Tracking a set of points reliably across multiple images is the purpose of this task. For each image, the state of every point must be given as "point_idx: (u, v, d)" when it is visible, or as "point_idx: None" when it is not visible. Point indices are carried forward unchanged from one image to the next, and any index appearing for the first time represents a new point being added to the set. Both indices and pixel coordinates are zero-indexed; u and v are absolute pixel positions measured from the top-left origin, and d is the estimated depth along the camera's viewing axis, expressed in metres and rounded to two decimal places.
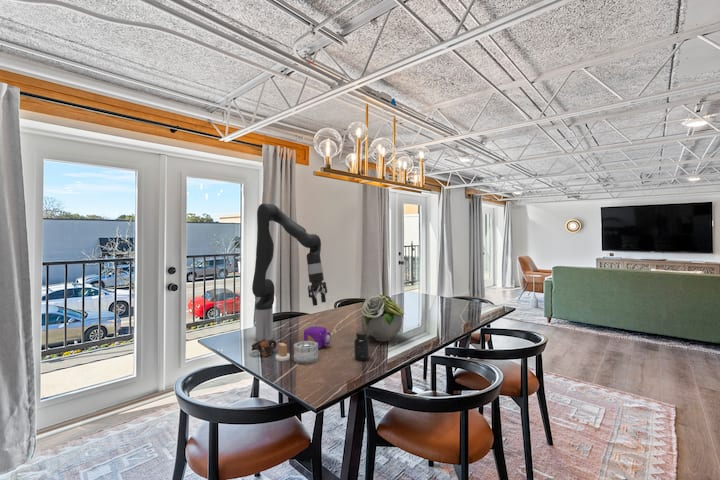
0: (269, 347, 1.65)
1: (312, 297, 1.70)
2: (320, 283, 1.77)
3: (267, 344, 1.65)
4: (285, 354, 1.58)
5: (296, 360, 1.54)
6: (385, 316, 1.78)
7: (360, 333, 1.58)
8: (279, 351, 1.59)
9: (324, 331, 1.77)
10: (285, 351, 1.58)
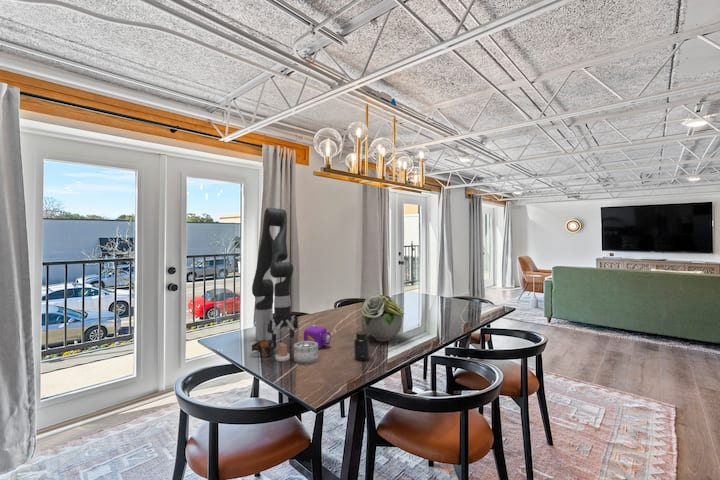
0: (269, 347, 1.64)
1: (270, 333, 1.55)
2: (287, 317, 1.60)
3: (267, 344, 1.64)
4: (285, 354, 1.58)
5: (296, 360, 1.54)
6: (385, 316, 1.78)
7: (360, 333, 1.58)
8: (279, 351, 1.59)
9: (324, 331, 1.77)
10: (285, 351, 1.58)
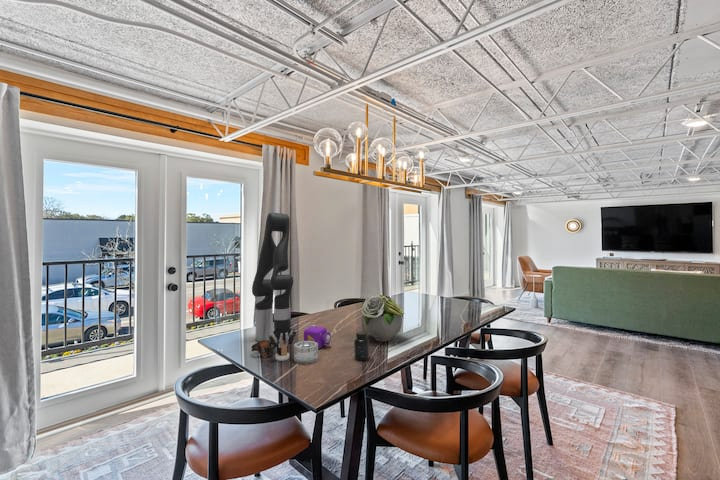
0: (269, 348, 1.64)
1: (275, 346, 1.57)
2: (286, 330, 1.60)
3: (267, 345, 1.64)
4: (285, 353, 1.58)
5: (296, 360, 1.54)
6: (385, 316, 1.78)
7: (360, 333, 1.58)
8: None
9: (324, 331, 1.77)
10: (285, 350, 1.58)
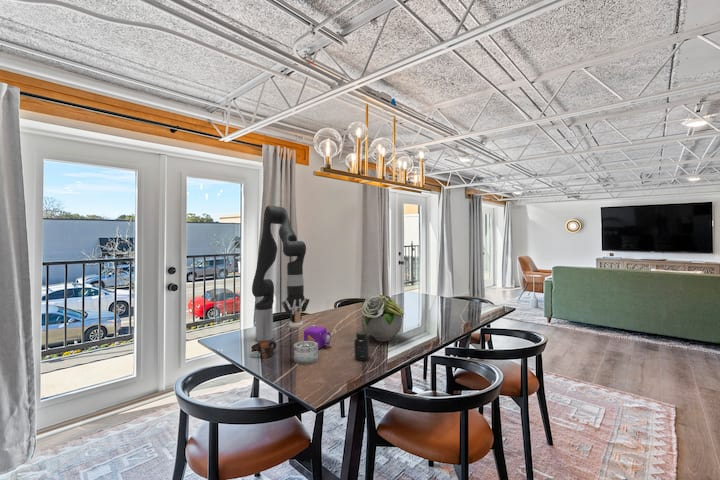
0: (269, 348, 1.63)
1: (289, 313, 1.56)
2: (299, 297, 1.58)
3: (267, 345, 1.63)
4: (298, 320, 1.56)
5: (296, 360, 1.54)
6: (385, 316, 1.78)
7: (360, 333, 1.58)
8: None
9: (324, 331, 1.77)
10: (298, 317, 1.56)
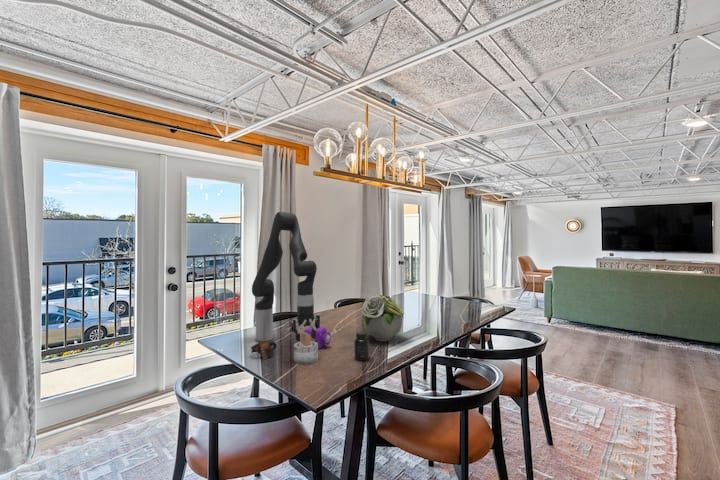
0: (269, 349, 1.62)
1: (294, 332, 1.54)
2: (309, 316, 1.58)
3: (267, 346, 1.62)
4: (308, 343, 1.57)
5: (296, 360, 1.54)
6: (385, 316, 1.78)
7: (360, 333, 1.58)
8: (303, 341, 1.58)
9: (324, 331, 1.77)
10: (308, 340, 1.57)
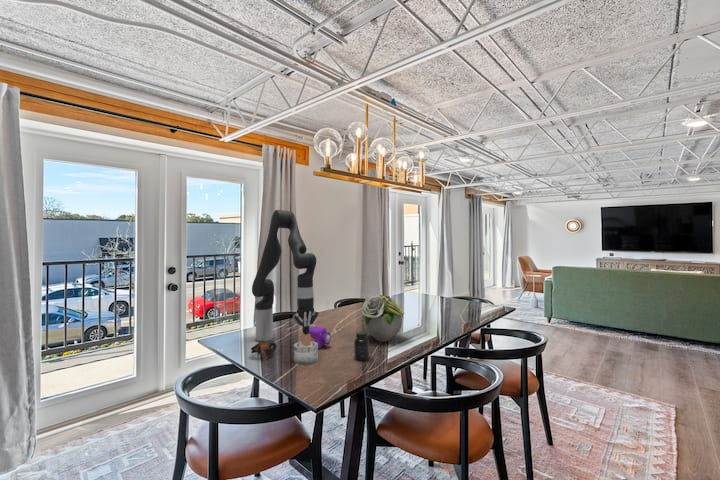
0: (269, 349, 1.62)
1: (301, 325, 1.56)
2: (309, 309, 1.58)
3: (267, 346, 1.61)
4: (308, 343, 1.57)
5: (296, 360, 1.54)
6: (385, 316, 1.78)
7: (360, 333, 1.58)
8: (303, 341, 1.58)
9: (324, 331, 1.77)
10: (308, 340, 1.57)
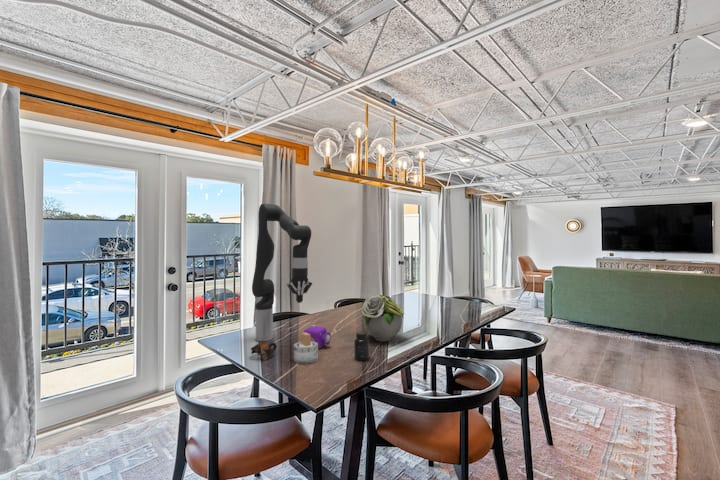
0: (269, 350, 1.61)
1: None
2: (303, 279, 1.65)
3: (267, 347, 1.61)
4: (308, 343, 1.57)
5: (296, 360, 1.54)
6: (385, 316, 1.78)
7: (360, 333, 1.58)
8: (303, 341, 1.58)
9: (324, 331, 1.77)
10: (308, 340, 1.57)
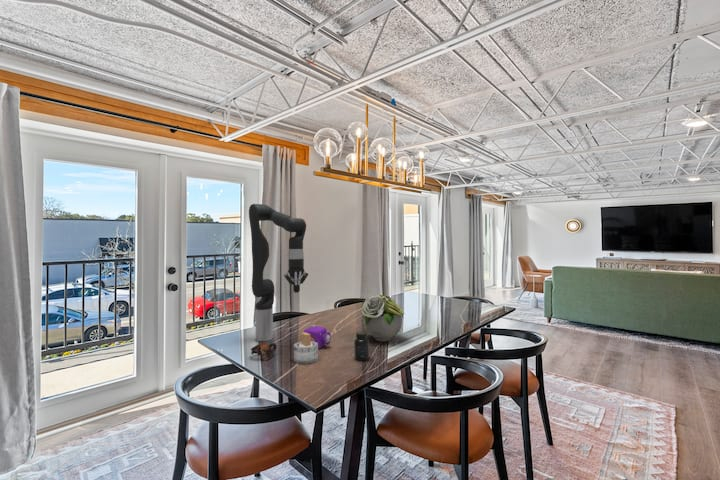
0: (269, 350, 1.61)
1: None
2: (300, 269, 1.72)
3: (267, 347, 1.60)
4: (308, 343, 1.57)
5: (296, 360, 1.54)
6: (385, 316, 1.78)
7: (360, 333, 1.58)
8: (303, 341, 1.58)
9: (324, 331, 1.77)
10: (308, 340, 1.57)
